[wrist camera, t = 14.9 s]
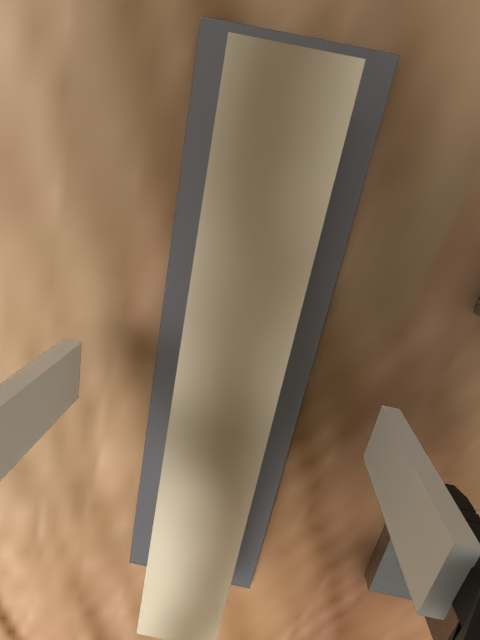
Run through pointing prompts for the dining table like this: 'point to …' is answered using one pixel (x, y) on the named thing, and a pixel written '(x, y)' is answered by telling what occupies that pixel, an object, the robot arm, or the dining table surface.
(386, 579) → the rack
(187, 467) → the rail
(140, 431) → the dining table surface
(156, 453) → the mat
